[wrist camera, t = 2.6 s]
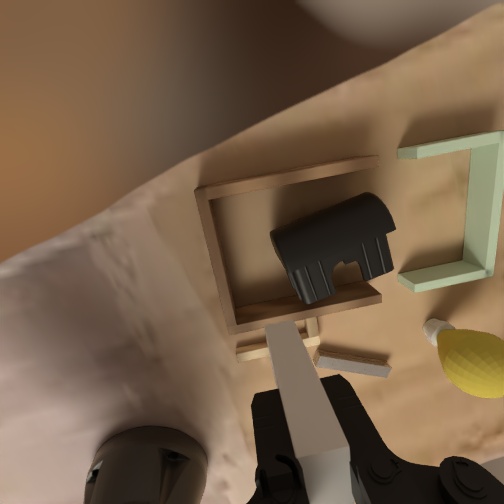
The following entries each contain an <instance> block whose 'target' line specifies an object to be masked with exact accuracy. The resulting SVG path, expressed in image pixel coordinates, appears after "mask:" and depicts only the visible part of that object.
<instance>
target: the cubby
mask: <svg viewBox="0 0 504 504" xmlns="http://www.w3.org/2000/svg"><path fill="white" fill-rule="evenodd" d="M375 167H378V155H371V156H357V157H352V158H346V159H341V160H336V161H331V162H326V163H320V164H315V165H310V166H305V167H300V168H294V169H289V170H284V171H279V172H274V173H268V174H263V175H258V176H253V177H248V178H242V179H237V180H232V181H227V182H222V183H216V184H211V185H206V186H201V187H197V188H196V189H195V190H194V193H195V197H196V202H197V206H198V210H199V214H200V218H201V222H202V226H203V230H204V234H205V238H206V243H207V247H208V251H209V255H210V259H211V263H212V267H213V271H214V275H215V279H216V283H217V288H218V292H219V296H220V300H221V304H222V308H223V312H224V316H225V320H226V324H227V329H228V333H229V335H234V334H238V333H243V332H248V331H252V330H257V329H262V328H264V325H268V324H273V323H278V322H282V321H287V320H292V319H293V320H294V321H299V320H304V319H308V318H313V317H317V316H322V315H327V314H331V313H336V312H341V311H345V310H350V309H355V308H359V307H364V306H369V305H373V304H378V303H382V294H381V293H379V292H378V291H377V290H376V289H375V288H373V287H372V286H371V285H370V284H369V283H367V282H366V281H362V282H357V283H352V284H347V285H343V286H338V287H334V288H335V291H336V294H333V295H331V296H329V297H326V298H324V299H321V300H319V301H316V302H314V303H311V304H305V303H304V302H303V301H302V300H301V299H299V298H298V295H295V296H291V297H286V298H281V299H276V300H272V301H267V302H262V303H257V304H253V305H248V306H243V307H238V308H235V305H234V300H233V296H232V291H231V287H230V283H229V278H228V274H227V269H226V265H225V261H224V256H223V252H222V247H221V243H220V239H219V234H218V230H217V225H216V221H215V216H214V212H213V208H212V203H211V199H215V198H221V197H226V196H231V195H236V194H241V193H246V192H251V191H257V190H262V189H267V188H272V187H277V186H282V185H287V184H293V183H298V182H303V181H308V180H313V179H318V178H323V177H329V176H334V175H339V174H344V173H349V172H354V171H359V170H365V169H370V168H375Z"/></svg>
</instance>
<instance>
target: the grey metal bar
mask: <svg viewBox="0 0 504 504" xmlns="http://www.w3.org/2000/svg"><path fill="white" fill-rule="evenodd" d="M313 362H314V364H315V366H316V367H321V368H327V369H333V370H340V371H346V372H353V373H359V374H366V375H372V376H379V377H385V378H387V377H388V374H389V372H390V370H391V368H392V367H391V366H390V365H389V364H388V363H387V361H383V360H377V359H371V358H365V357H359V356H353V355H347V354H341V353H335V352H330V351H324V350H318V349H317V350H316V352H315V355H314V358H313Z"/></svg>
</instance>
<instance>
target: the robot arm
mask: <svg viewBox="0 0 504 504" xmlns="http://www.w3.org/2000/svg"><path fill="white" fill-rule="evenodd" d="M264 329H265V334H266V339H267V344H268V349H269V355H270V360H271V365H272V370H273V374H274V378H275V383H276V387H277V389H274V390H269V391H265V392H260V393H256V394H255V395H254V398H253V401H252V404H251V409H252V418H253V427H254V436H255V444H256V453H257V462H258V466H257V468H256V472H255V483H256V487H257V488H256V491H255V493H254V495H253V496H252V498H251V499H250V500H249V502H248V503H246V504H354V500H355V502H356V504H504V485H503V484H502V483H501V482H500V481H499V480H497V479H496V478H495V477H494V476H493V475H492V474H491V473H490V472H488V471H487V470H486V469H484V468H483V467H482V466H480V465H479V464H478V463H476V462H474V461H472V460H469V459H467V458H464V457H457V456H452V457H448V458H445V459H444V460H443V461H442V462H441V464H440V467H435V466H428V465H420V464H414V463H410V462H407V461H405V460H403V459H401V458H399V457H398V456H396V455H395V454H394V453H393V452H392V451H390V450H389V449H388V447H387V446H386V445H385V443H384V442H383V440H382V438H381V437H380V435H379V433H378V431H377V430H376V428H375V426H374V424H373V423H372V421H371V419H370V417H369V416H368V414H367V412H366V410H365V409H364V407H363V406H362V403H361V402H360V400H359V398H358V396H357V395H356V393H355V391H354V389H353V388H352V386H351V384H350V383H349V382H348V381H347V380H346V379H345V378H343V377H342V376H341V375H340V374H338V375H333V376H329V377H324V378H320V379H319V377H318V374H317V372H316V370H315V368H314V365H313V363H312V361H311V358H310V356H309V354H308V352H307V349H306V347H305V345H304V343H303V340H302V338H301V336H300V334H299V331H298V329H297V327H296V325H295V322H294V320H293V319H292V320H287V321H282V322H278V323H273V324H268V325H264ZM206 478H207V458H206V455H205V453H204V451H203V449H202V448H201V446H200V445H199V444H198V443H197V442H196V441H195V440H194V439H192V438H191V437H189V436H188V435H186V434H184V433H182V432H179V431H177V430H173V429H169V428H164V427H141V428H135V429H131V430H128V431H125V432H122V433H120V434H118V435H116V436H114V437H112V438H111V439H109V440H108V441H107V442H106V443H104V445H103V446H102V447H101V448H100V449H99V450H98V452H97V454H96V456H95V458H94V460H93V463H92V465H91V467H90V470H89V472H88V475H87V479H86V485H85V494H84V502H83V504H200V502H201V499H202V496H203V493H204V490H205V486H206Z"/></svg>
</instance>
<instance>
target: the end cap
mask: <svg viewBox="0 0 504 504" xmlns="http://www.w3.org/2000/svg"><path fill="white" fill-rule="evenodd" d="M394 230H396V228H395V224H394V221H393V218H392V216H391V214H390V212H389V210H388V209H387V207H386V205H385V204H384V203H383V202H382V200H381V199H380V198H379V197H377V196H376V195H374V194H372V193H370V192H365V193H362V194H360V195H357V196H355V197H353V198H350V199H348V200H345V201H343V202H341V203H338V204H336V205H333V206H331V207H328V208H326V209H324V210H321V211H319V212H316V213H314V214H311V215H309V216H307V217H304V218H302V219H299V220H297V221H294V222H292V223H290V224H287V225H285V226H282V227H280V228H277V229H275V230H273V231H271V232H270V238H271V241H272V244H273V247H274V249H275V252H276V254H277V256H278V257H279V259H280V261H281V263H282V264H283V266H284V268H285V269H286V271H287V274H288V277H289V279H290V282H291V284H292V287H293V288H294V289H295V290H296V293H297V295H298V298H299V299H301V300H302V301H303V302H304V303H305V304H311V303H314V302H316V301H319V300H321V299H324V298H326V297H329V296H331V295H333V294H336V291H335V288H334V285H333V282H332V278H331V274H332V271H333V268H334V267H335V266H336V265H337V264H338V263H339V262H341V261H343V262H344V264H345V265H346V264H348V263H351V262H353V261H357V262H358V264H359V266H360V270H361V273H362V277H363V280H364V281H368V280H371V279H373V278H376V277H378V276H381V275H383V274H386V273H388V272H390V271H392V270H393V269H394V266H393V262H392V258H391V254H390V249H389V245H388V241H387V236H386V234H387V233H389V232H392V231H394Z"/></svg>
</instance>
